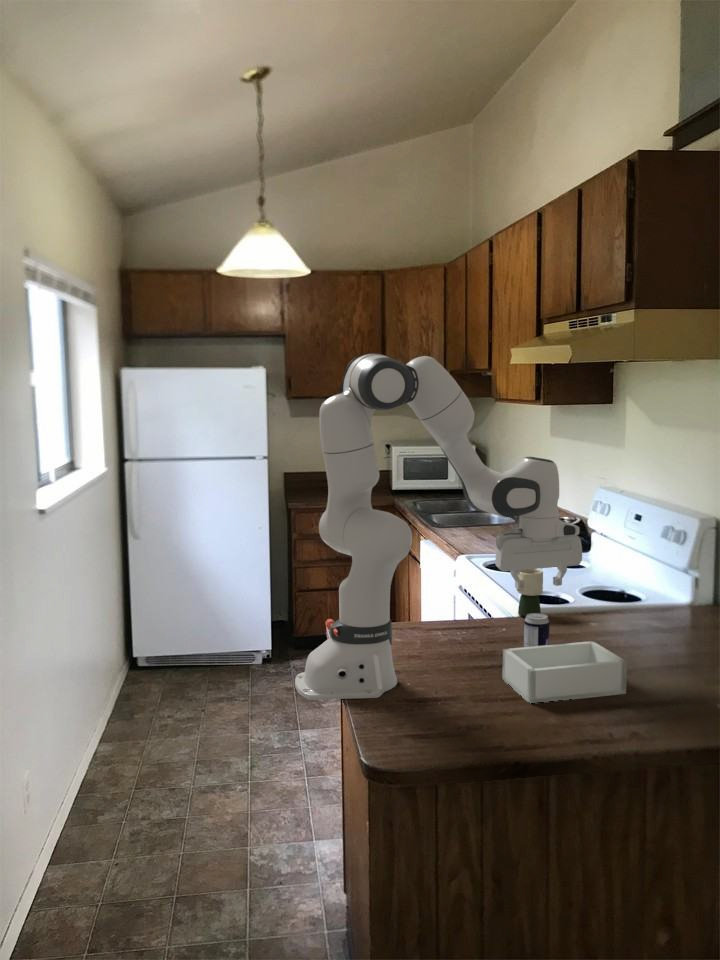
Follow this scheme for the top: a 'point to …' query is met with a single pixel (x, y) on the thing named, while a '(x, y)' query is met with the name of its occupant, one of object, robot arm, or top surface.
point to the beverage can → (536, 630)
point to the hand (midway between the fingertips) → (538, 586)
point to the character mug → (530, 591)
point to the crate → (564, 671)
